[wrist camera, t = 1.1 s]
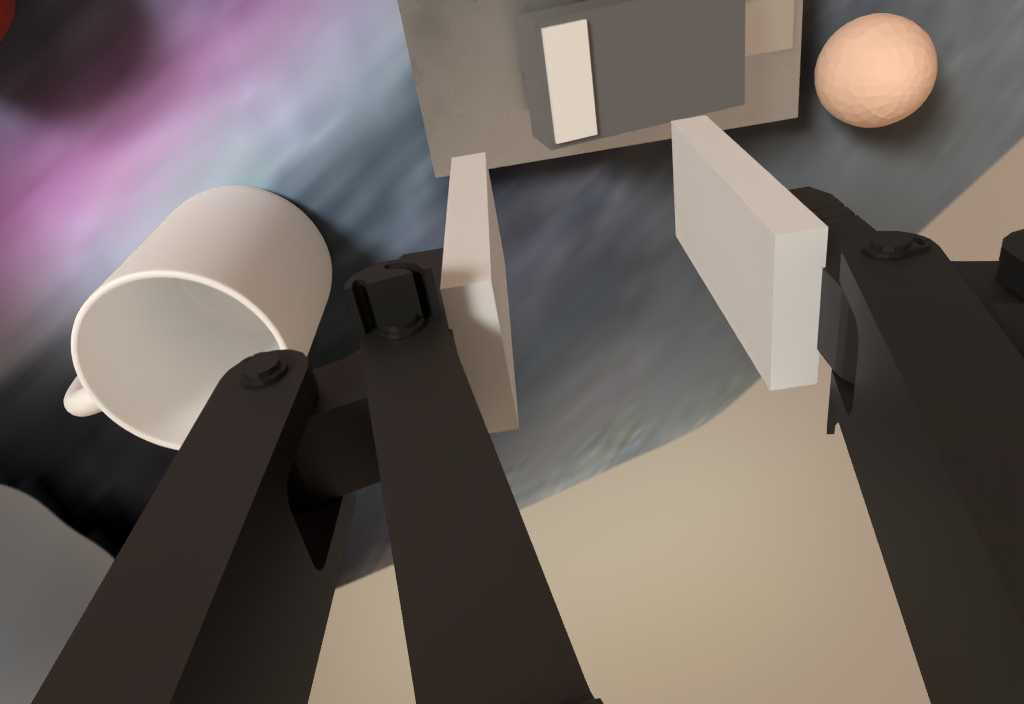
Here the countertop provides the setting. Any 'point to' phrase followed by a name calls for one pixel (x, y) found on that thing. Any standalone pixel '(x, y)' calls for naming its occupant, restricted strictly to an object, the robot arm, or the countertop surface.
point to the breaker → (629, 65)
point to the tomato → (6, 16)
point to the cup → (197, 309)
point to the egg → (876, 70)
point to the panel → (502, 91)
